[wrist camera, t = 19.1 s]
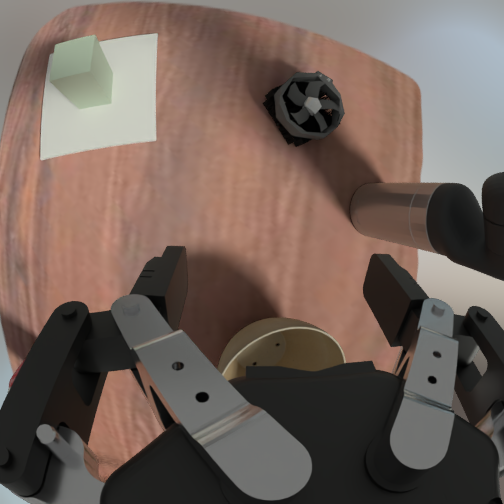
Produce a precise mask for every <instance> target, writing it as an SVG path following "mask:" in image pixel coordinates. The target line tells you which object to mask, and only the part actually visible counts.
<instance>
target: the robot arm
mask: <svg viewBox="0 0 504 504" xmlns="http://www.w3.org/2000/svg"><path fill="white" fill-rule="evenodd" d="M482 208H483V212H482V210H481V208H480V206H479V203H478V201H477V199H476V197H475V196H474V194H473V192H472V191H471V190H470V189H469V188H468V187H466V186H465V185H462V184H459V183H368V184H364V185H363V186H361V187H360V188H359V189H357V191H356V192H355V194H354V195H353V198H352V201H351V205H350V215H351V219H352V223H353V225H354V227H355V228H356V229H357V230H358V231H359V232H360V233H361V234H363V235H365V236H369V237H373V238H377V239H381V240H385V241H389V242H393V243H397V244H401V245H405V246H409V247H413V248H417V249H421V250H425V251H430V252H433V253H437V254H441V255H445V256H447V257H448V258H449V259H450V260H451V261H453V262H455V263H457V264H460V265H462V266H465V267H468V268H471V269H474V270H476V271H479V272H481V273H484V274H487V275H489V276H492V277H494V278H497V279H500V280H502V281H504V172H502V173H497V174H494V175H492V176H490V177H489V178H488V179H486V181H485V182H484V184H483V187H482ZM187 290H188V274H187V258H186V248H185V246H167V247H166V249H165V251H164V253H163V255H162V257H154V258H153V259H151V260H150V261H148V262H147V263H146V265H145V267H144V268H143V271H142V272H141V274H140V276H139V277H138V279H137V281H136V283H135V285H134V287H133V289H132V291H131V292H130V294H129V295H126V296H123V297H120V298H119V299H117V300H116V301H115V302H114V303H113V304H112V306H111V310H109V311H103V312H95V313H89V310H88V307H87V306H86V305H85V304H84V303H82V302H78V301H71V302H67V303H64V304H62V305H60V306H59V307H57V308H56V309H55V310H54V312H53V313H52V315H51V316H50V318H49V319H48V321H47V323H46V324H45V326H44V328H43V329H42V331H41V333H40V334H39V336H38V338H37V339H36V341H35V343H34V344H33V346H32V348H31V350H30V352H29V353H28V355H27V357H26V359H25V361H24V362H23V364H22V366H21V368H20V370H19V372H18V374H17V376H16V378H15V380H14V382H13V384H12V386H11V388H10V390H9V392H8V394H7V396H6V398H5V401H4V403H3V405H2V407H1V410H0V484H2V485H3V486H5V487H6V488H8V489H9V490H10V491H11V492H12V493H14V494H15V495H17V496H18V497H20V498H22V499H23V500H25V501H27V502H28V503H30V504H503V503H502V500H501V496H500V485H499V477H502V476H504V330H503V329H502V328H501V327H500V325H499V324H498V323H497V321H496V320H495V319H494V318H493V316H492V315H491V314H490V313H489V312H488V311H486V310H485V309H483V308H481V307H477V306H472V307H470V308H469V309H468V311H467V313H466V316H461V315H455V314H454V313H453V310H452V308H451V307H450V306H449V305H448V304H446V303H445V302H443V301H441V300H439V299H435V298H429V297H428V296H427V294H426V293H425V292H424V291H423V290H422V288H421V287H420V286H419V285H418V284H417V282H416V281H415V280H414V279H413V277H412V276H411V275H410V274H409V273H408V271H406V270H405V269H404V268H402V267H401V266H399V265H398V264H397V263H396V261H395V260H394V259H393V258H392V257H391V256H390V255H389V254H373V255H372V256H371V258H370V262H369V266H368V270H367V273H366V277H365V281H364V285H363V294H364V298H365V299H366V301H367V303H368V305H369V307H370V308H371V310H372V312H373V314H374V316H375V318H376V320H377V321H378V323H379V325H380V327H381V329H382V331H383V333H384V335H385V337H386V338H387V340H388V342H389V344H390V346H391V347H396V346H403V349H402V351H401V353H400V355H399V358H398V361H397V364H396V367H395V370H394V372H393V374H392V373H389V372H385V371H381V370H376V369H375V367H374V364H373V362H372V361H364V362H353V363H343V364H340V365H337V366H333V367H330V368H326V369H323V370H319V371H306V370H299V369H293V368H287V367H282V366H246V372H245V376H241V377H237V378H233V379H230V380H228V381H227V380H226V379H225V378H224V376H223V375H222V374H221V373H220V372H219V371H218V370H217V369H216V368H215V367H214V365H213V364H212V363H211V362H210V361H209V360H208V359H207V358H206V356H205V355H204V354H203V353H202V352H201V351H200V350H199V348H198V347H197V346H196V345H195V344H194V343H193V341H192V340H191V339H190V338H189V337H188V336H187V334H186V333H185V332H184V331H183V330H181V329H178V326H179V322H180V318H181V314H182V310H183V306H184V303H185V299H186V295H187ZM479 349H480V350H481V351H482V353H483V354H484V356H485V357H486V359H487V362H488V367H487V371H486V372H485V374H484V375H483V376H481V375H480V372H479V371H478V369H477V367H476V366H475V364H474V362H473V359H474V357H475V355H476V354H477V353H478V351H479ZM125 369H129V370H130V372H131V374H132V376H133V378H134V379H135V381H136V383H137V385H138V386H139V388H140V390H141V392H142V393H143V395H144V397H145V399H146V400H147V402H148V404H149V405H150V407H151V409H152V411H153V413H154V415H155V417H156V419H157V421H158V422H159V424H160V426H161V427H162V429H163V430H164V432H163V433H162V434H160V435H159V436H158V437H157V438H156V439H155V440H153V441H152V442H151V443H150V444H148V445H147V446H146V447H145V448H144V449H142V450H141V451H140V452H139V453H137V454H136V455H135V456H134V457H132V458H131V459H130V460H128V461H127V462H126V463H125V464H123V465H122V466H121V467H119V468H118V469H117V470H116V471H114V472H113V473H112V474H111V475H110V477H109V478H108V479H107V481H106V482H105V483H103V482H101V480H100V477H99V472H98V469H99V465H98V460H97V457H96V456H95V454H94V453H93V452H92V450H91V449H90V448H89V447H88V441H89V437H90V433H91V429H92V425H93V422H94V418H95V414H96V411H97V407H98V403H99V400H100V396H101V393H102V390H103V386H104V383H105V380H106V377H107V374H108V372H109V371H117V370H125ZM454 390H455V392H456V394H457V396H458V398H459V400H460V402H461V404H462V407H463V409H464V411H465V413H466V416H467V418H468V420H469V422H467V421H466V420H464V419H463V418H461V417H459V416H458V415H456V414H455V413H454V410H452V408H451V405H452V398H453V392H454Z"/></svg>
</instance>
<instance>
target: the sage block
mask: <svg viewBox="0 0 504 504" xmlns="http://www.w3.org/2000/svg"><path fill="white" fill-rule="evenodd" d="M49 81H50V82H51V83H52V84H53V85H54V86H55V87H56V88H57V89H58V90H59V91H60V92H61V93H62V94H63V95H65V96H66V97H67V98H68V99H69V100H70V101H71V102H72V103H73V104H74V105H75V106H76V107H77V108H79V109H84V108H89V107H94V106H100V105H106V104H111V103H112V84H113V72H112V70H111V68H110V66H109V63H108V61H107V59H106V57H105V55H104V53H103V51H102V48H101V46H100V44H99V42H98V40H97V37H96V35H91V36H87V37H82V38H78V39H74V40H70V41H67V42H63V43H59V44H56V45H55V50H54V55H53V60H52V66H51V72H50V79H49Z"/></svg>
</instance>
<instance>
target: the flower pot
mask: <svg viewBox="0 0 504 504" xmlns="http://www.w3.org/2000/svg"><path fill="white" fill-rule="evenodd" d="M277 343H279V345H278V346H276V344H277ZM254 362H256V364H255V365H253V363H254ZM343 363H346V362H345V356H344V353H343V350H342V348H341V346H340V345H339V343H338V342H337V341H336V340H335V339H334V338H333V337H332V336H331V335H329V334H328V333H327V332H325V331H323V330H322V329H320V328H318V327H316V326H314V325H312V324H309V323H307V322H304V321H300V320H296V319H291V318H267V319H263V320H259V321H256V322H254V323H251V324H249V325H248V326H246V327H244V328H243V329H241V330H240V331H239V332H238V333H237V334H236V335H234V337H233V338H232V339H231V340H230V341H229V343H228V344H227V346H226V347H225V349H224V351H223V353H222V356H221V358H220V361H219V364H218V368H217V370H218V371H219V372H220V373H221V374H222V375H223V376H224V378H225V379H226V380H227V381H228V380H230V379H233V378H237V377H241V376H245V372H246V366H282V367H287V368H293V369H299V370H306V371H319V370H323V369H326V368H330V367H333V366H337V365H340V364H343Z"/></svg>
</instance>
